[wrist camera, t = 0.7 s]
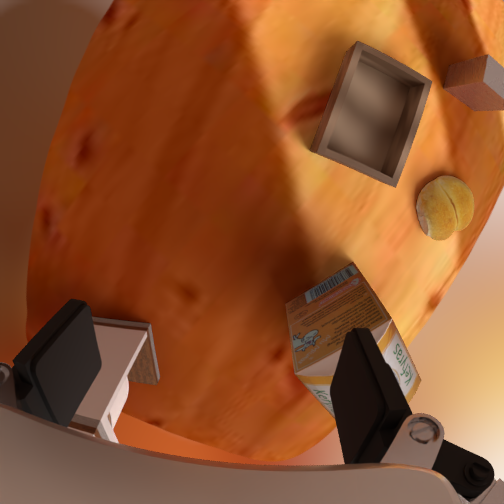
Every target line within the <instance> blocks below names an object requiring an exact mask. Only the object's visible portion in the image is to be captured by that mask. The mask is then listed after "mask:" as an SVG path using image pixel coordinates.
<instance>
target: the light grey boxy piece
mask: <svg viewBox="0 0 504 504" xmlns="http://www.w3.org/2000/svg"><path fill="white" fill-rule="evenodd" d="M92 319H93V324H94V329H95V334H96V339H97V343H98V347H99V352H100V356H101V360H102V367H101V370H100V371H99V373H98V375H97V376H96V378H95V380H94V381H93V383H92V385H91V387H90V388H89V390H88V392H87V393H86V395H85V397H84V399H83V400H82V402H81V404H80V406H79V407H78V409H77V411H76V413H75V415H74V416H73V418H72V420H71V422H70V424H69V425H68V427H67V428H69V429H72V430H75V431H78V432H81V433H84V434H88V435H91V436H94V437H98V438H101V439H104V440H108V441H112V442H116V443H119V442H118V440H117V438H116V436H115V434H114V431H113V428H114V426H115V424H116V421H117V419H118V417H119V415H120V412H121V410H122V408H123V406H124V404H125V401H126V399H127V396H128V390H129V385H128V381H132V382H139V383H145V384H152V385H157V383H158V381H159V378H160V375H159V370H158V364H157V359H156V353H155V348H154V342H153V335H152V329H151V324H150V323H140V322H131V321H122V320H114V319H106V318H98V317H92Z"/></svg>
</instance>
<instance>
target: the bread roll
mask: <svg viewBox="0 0 504 504" xmlns="http://www.w3.org/2000/svg"><path fill="white" fill-rule="evenodd" d="M416 209H417V214H418V219H419V222H420V224H421V227H422V230H423V232H424V233H425V234H426V235H427V236H430V237H431V238H432V239H434V240H445V239H447V238H449V237H450V236H451V234H452V233H453V232H454V231H460V230H463V229H464V228H466V227H467V226H468V224H469V223H470V221H471V220H472V217H473V213H474V199H473V195H472V192H471V190H470V189H469V187H468V186H467V185H466V184H465V183H464V182H463V181H461V180H460V179H458V178H456V177H453V176H439V177H438V178H436V179H435V180H433V181H431V182H429V183H428V184H426V185H425V186H424V188H423V189H422V190H421V192H420V193H419V196H418V199H417V204H416Z"/></svg>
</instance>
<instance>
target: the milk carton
mask: <svg viewBox="0 0 504 504" xmlns="http://www.w3.org/2000/svg"><path fill="white" fill-rule="evenodd" d="M285 305H286V312H287V319H288V327H289V334H290V342H291V349H292V357H293V365H294V373H295V375H296V376H297V377H298V378H299V380H300V381H301V382H302V383H303V384H304V385H305V386H306V387H307V389H308V390H309V391H310V392H311V393H312V394H313V395H314V396H315V398H316V399H317V400H318V401H319V402H320V403H321V404H322V405H323V406H324V407H325V409H326V410H327V411H328V412H329V413H330V414H331V415H332V416H333V417H334V418H335V415H334V411H333V406H332V402H331V397H330V386H331V382H332V379H333V376H334V373H335V370H336V367H337V363H338V360H339V357H340V353H341V350H342V346H343V343H344V339H345V336H346V333H347V332H351V330H352V329H353V328H369V329H370V331H371V333H372V335H373V337H374V339H375V341H376V343H377V345H378V347H379V349H380V351H381V353H382V355H383V357H384V359H385V361H386V363H388V364H389V365H390V367H391V369H392V371H393V373H394V375H395V377H396V379H397V381H398V383H399V385H400V387H401V390H402V392H403V394H404V396H405V398H406V400H407V403H409V402H410V401H411V399H412V398H413V396H414V395H415V393H416V391H417V389H418V387H419V384H420V382H421V378H420V376H419V374H418V372H417V370H416V367H415V365H414V363H413V361H412V359H411V357H410V355H409V352H408V350H407V348H406V346H405V344H404V342H403V340H402V338H401V336H400V334H399V332H398V330H397V328H396V326H395V324H394V322H393V320H392V318H391V316H390V315H389V313H388V312H387V310H386V309H385V307H384V306H383V304H382V303H381V301H380V300H379V298H378V297H377V295H376V294H375V292H374V291H373V289H372V288H371V286H370V285H369V284H368V282H367V281H366V279H365V278H364V276H363V275H362V273H361V272H360V271H359V269H358V268H357V266H356V265H355V264H354V262H352V263H351V264H349V265H348V266H346V267H344V268H343V269H341V270H340V271H338V272H337V273H335V274H333V275H332V276H330V277H329V278H327V279H325V280H324V281H322V282H320V283H319V284H317V285H316V286H314V287H312V288H311V289H309V290H307V291H306V292H304V293H302V294H301V295H299V296H298V297H296V298H294V299H293V300H291V301H289V302H287V303H286V304H285Z"/></svg>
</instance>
